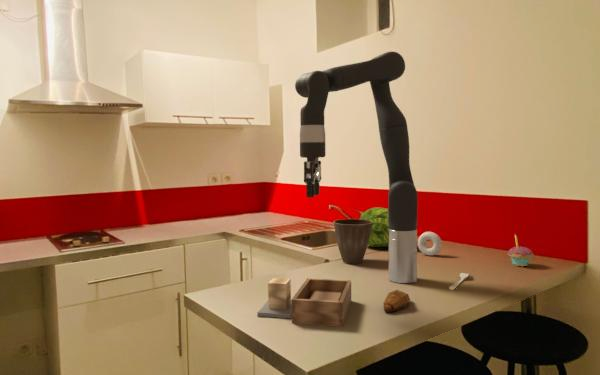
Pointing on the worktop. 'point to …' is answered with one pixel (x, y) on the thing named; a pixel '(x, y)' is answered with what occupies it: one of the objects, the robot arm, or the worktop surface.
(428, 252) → the donut
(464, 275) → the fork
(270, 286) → the maple block
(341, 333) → the worktop surface
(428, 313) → the worktop surface
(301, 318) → the walnut crate
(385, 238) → the lettuce
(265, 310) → the plate
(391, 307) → the croissant
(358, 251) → the plant pot
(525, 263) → the cupcake
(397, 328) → the worktop surface
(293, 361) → the worktop surface
